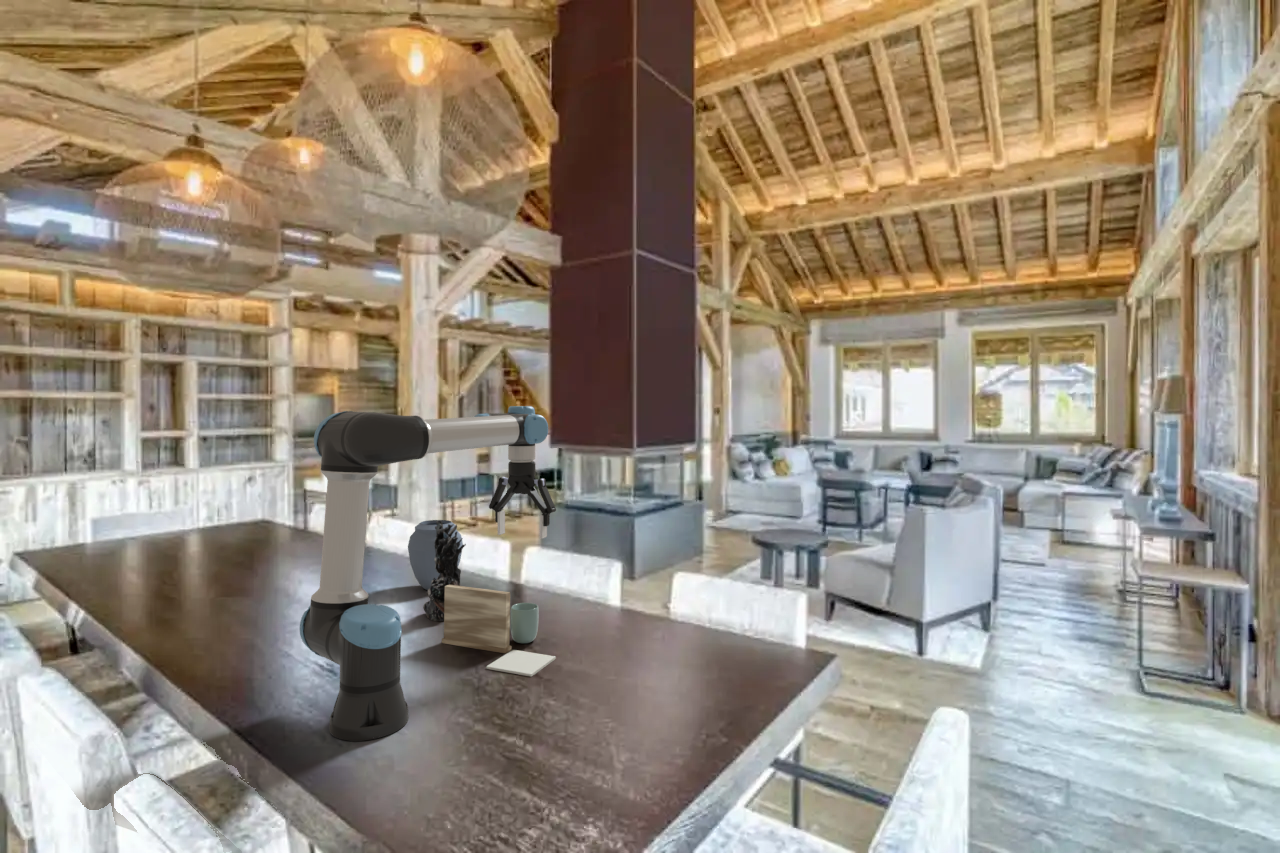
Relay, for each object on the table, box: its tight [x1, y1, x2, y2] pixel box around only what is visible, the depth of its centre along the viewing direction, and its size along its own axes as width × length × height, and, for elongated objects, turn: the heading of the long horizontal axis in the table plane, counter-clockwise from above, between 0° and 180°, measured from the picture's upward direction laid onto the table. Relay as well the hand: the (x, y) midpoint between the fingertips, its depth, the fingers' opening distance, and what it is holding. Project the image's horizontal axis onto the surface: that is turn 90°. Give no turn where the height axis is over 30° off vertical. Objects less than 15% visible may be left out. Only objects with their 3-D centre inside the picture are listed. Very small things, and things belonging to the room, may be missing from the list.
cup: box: [510, 602, 540, 644], centre depth 187 cm, size 8×8×10 cm
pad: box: [485, 649, 557, 678], centre depth 170 cm, size 13×13×1 cm
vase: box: [407, 519, 464, 591], centre depth 242 cm, size 20×20×24 cm
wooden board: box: [441, 585, 512, 654], centre depth 182 cm, size 3×21×16 cm, turn 70°
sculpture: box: [422, 519, 467, 622], centre depth 208 cm, size 14×15×30 cm
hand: (522, 535), depth 185 cm, fingers open, 13 cm apart
